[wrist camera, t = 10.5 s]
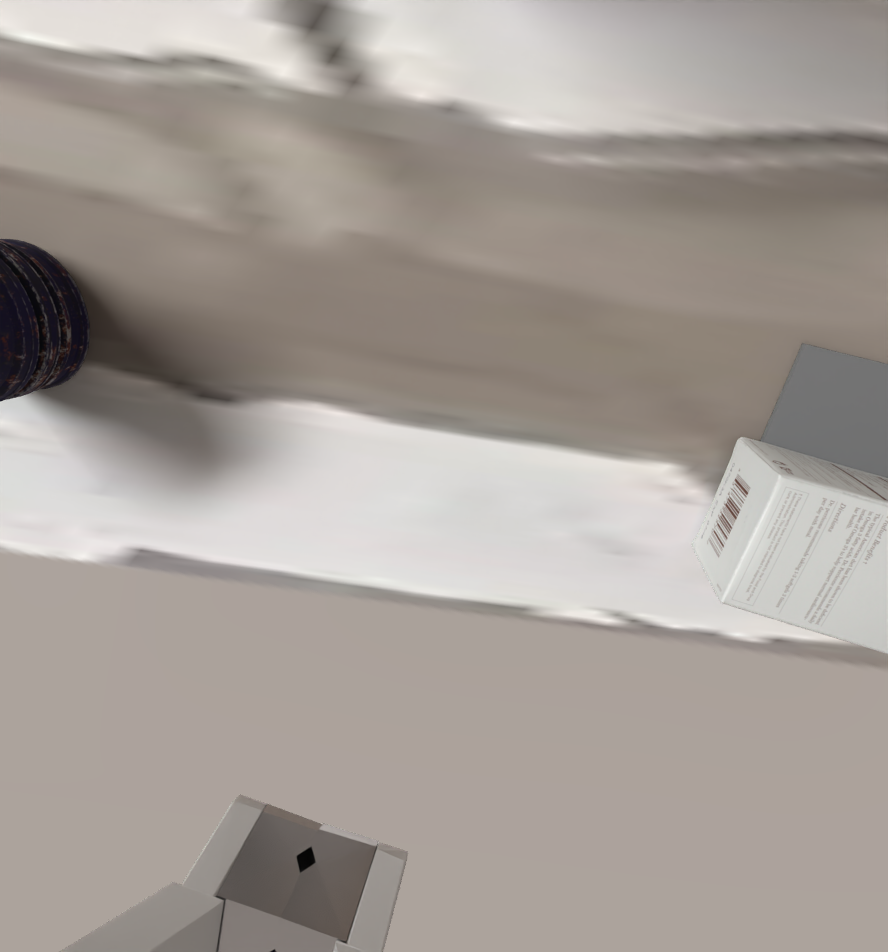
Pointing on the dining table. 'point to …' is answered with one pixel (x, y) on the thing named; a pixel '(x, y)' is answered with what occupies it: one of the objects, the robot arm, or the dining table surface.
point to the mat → (834, 410)
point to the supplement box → (800, 543)
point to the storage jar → (38, 321)
